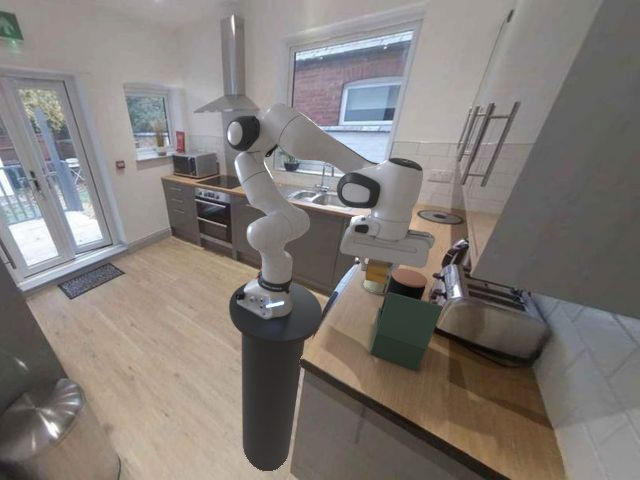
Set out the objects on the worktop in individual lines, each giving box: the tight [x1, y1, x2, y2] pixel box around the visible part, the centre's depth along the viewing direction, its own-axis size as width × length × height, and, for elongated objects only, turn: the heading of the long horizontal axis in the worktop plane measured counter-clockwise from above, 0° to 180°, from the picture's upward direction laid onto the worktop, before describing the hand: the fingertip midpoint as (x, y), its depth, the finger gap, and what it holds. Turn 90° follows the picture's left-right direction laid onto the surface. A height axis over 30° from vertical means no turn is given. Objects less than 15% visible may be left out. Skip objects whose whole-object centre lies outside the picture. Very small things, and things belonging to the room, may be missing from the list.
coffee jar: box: [381, 267, 428, 309], centre depth 93 cm, size 11×11×18 cm
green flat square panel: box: [377, 292, 444, 351], centre depth 72 cm, size 14×13×1 cm
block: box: [364, 258, 388, 284], centre depth 69 cm, size 4×4×4 cm
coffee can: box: [362, 262, 393, 295], centre depth 110 cm, size 10×10×14 cm
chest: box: [369, 307, 426, 372], centre depth 82 cm, size 14×13×9 cm
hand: (375, 272), depth 70 cm, fingers closed on block, 4 cm apart
